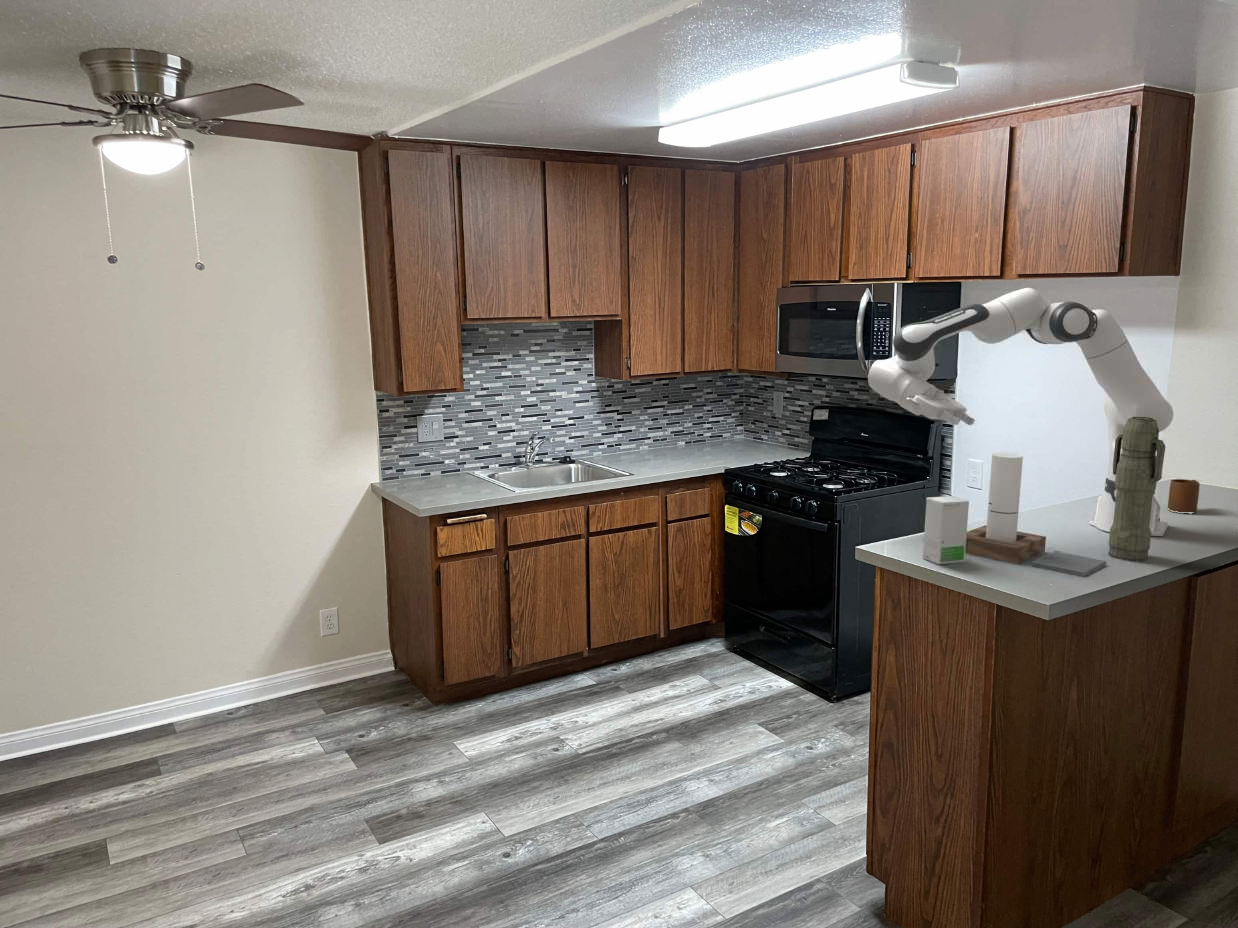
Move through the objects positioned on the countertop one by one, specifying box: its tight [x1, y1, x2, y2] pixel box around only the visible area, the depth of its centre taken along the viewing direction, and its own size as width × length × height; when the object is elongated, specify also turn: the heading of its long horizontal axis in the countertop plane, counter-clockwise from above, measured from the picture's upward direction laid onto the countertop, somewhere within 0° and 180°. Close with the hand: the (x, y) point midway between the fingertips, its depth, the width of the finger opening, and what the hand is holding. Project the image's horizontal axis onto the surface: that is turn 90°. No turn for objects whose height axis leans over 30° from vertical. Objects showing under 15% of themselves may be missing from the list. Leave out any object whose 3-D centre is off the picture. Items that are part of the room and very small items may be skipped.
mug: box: [1167, 478, 1200, 513], centre depth 275 cm, size 12×8×9 cm, turn 126°
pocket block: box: [965, 524, 1047, 565], centre depth 231 cm, size 16×16×4 cm
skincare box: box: [922, 495, 970, 565], centre depth 222 cm, size 8×7×16 cm
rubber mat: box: [1031, 550, 1107, 578], centre depth 219 cm, size 14×12×1 cm
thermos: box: [1107, 417, 1166, 562], centre depth 224 cm, size 9×12×35 cm
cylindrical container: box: [986, 452, 1024, 543], centre depth 229 cm, size 7×7×25 cm
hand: (965, 422), depth 232 cm, fingers open, 8 cm apart
